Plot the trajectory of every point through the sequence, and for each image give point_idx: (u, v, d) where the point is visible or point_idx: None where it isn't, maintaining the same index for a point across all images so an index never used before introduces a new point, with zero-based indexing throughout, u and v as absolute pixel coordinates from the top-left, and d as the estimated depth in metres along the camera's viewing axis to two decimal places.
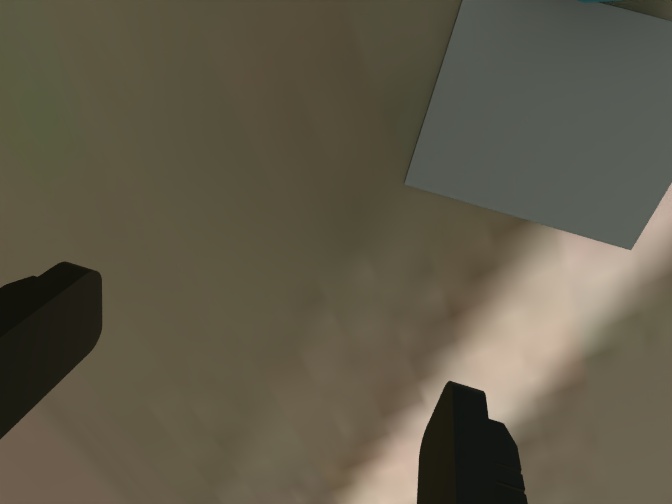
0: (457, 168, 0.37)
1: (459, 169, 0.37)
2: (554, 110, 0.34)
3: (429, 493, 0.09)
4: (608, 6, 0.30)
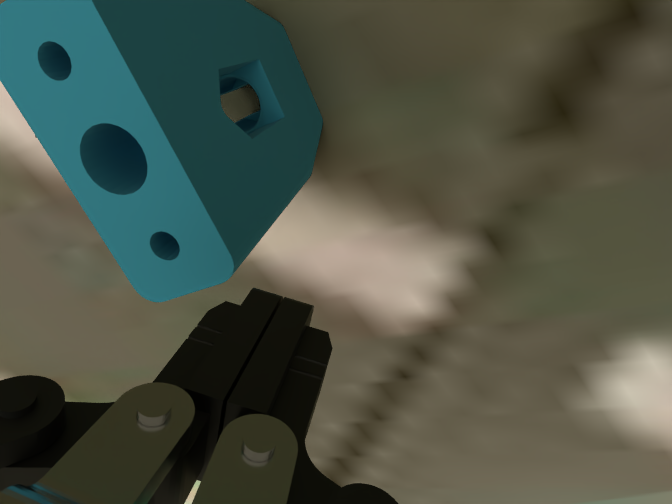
0: None
1: None
2: None
3: None
4: None
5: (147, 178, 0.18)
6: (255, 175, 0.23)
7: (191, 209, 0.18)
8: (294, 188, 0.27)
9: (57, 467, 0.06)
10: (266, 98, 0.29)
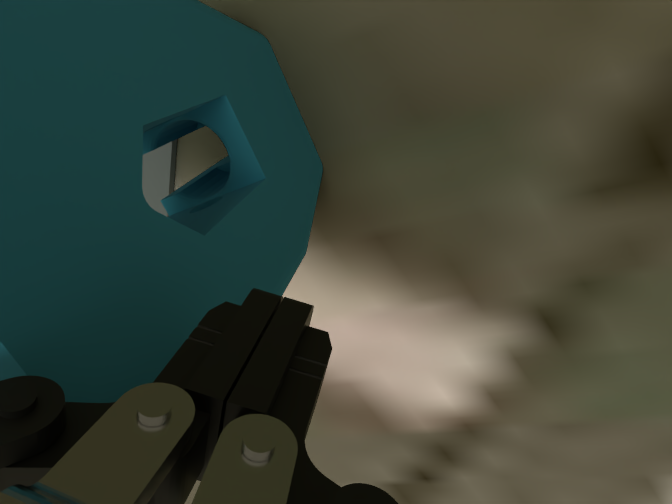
0: None
1: None
2: None
3: None
4: None
5: None
6: (207, 303, 0.14)
7: None
8: (278, 293, 0.18)
9: (57, 466, 0.06)
10: (238, 151, 0.19)
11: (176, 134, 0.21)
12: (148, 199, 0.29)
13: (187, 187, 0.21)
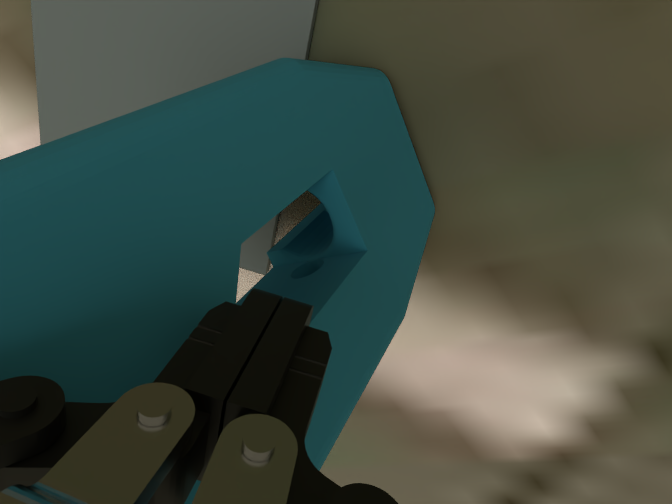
0: None
1: None
2: (172, 90, 0.26)
3: None
4: None
5: None
6: None
7: None
8: (367, 378, 0.18)
9: (57, 467, 0.06)
10: (341, 222, 0.19)
11: None
12: None
13: (292, 240, 0.22)
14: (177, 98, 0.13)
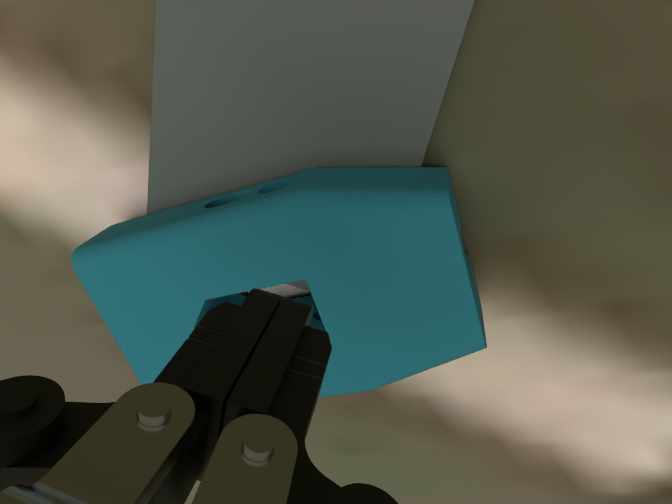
0: None
1: (201, 0, 0.24)
2: (296, 126, 0.25)
3: None
4: None
5: None
6: None
7: None
8: None
9: (56, 466, 0.06)
10: None
11: None
12: None
13: None
14: (191, 220, 0.24)
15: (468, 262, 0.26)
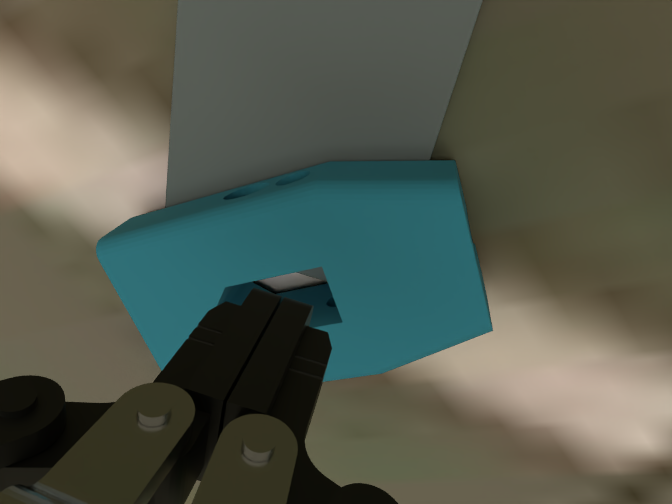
0: None
1: (221, 2, 0.25)
2: (311, 122, 0.27)
3: None
4: None
5: None
6: None
7: None
8: None
9: (56, 466, 0.06)
10: None
11: None
12: None
13: None
14: (213, 211, 0.25)
15: (474, 251, 0.27)
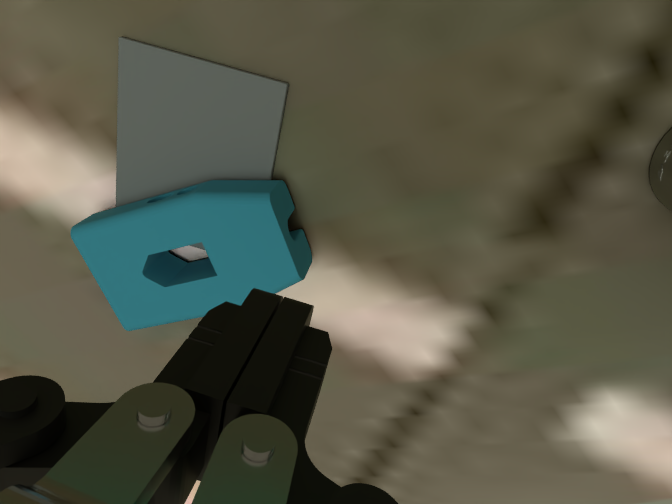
0: (143, 86, 0.43)
1: (143, 88, 0.43)
2: (200, 156, 0.45)
3: None
4: None
5: None
6: (158, 303, 0.47)
7: None
8: (202, 313, 0.46)
9: (56, 466, 0.06)
10: None
11: None
12: None
13: None
14: (138, 210, 0.43)
15: (299, 234, 0.45)
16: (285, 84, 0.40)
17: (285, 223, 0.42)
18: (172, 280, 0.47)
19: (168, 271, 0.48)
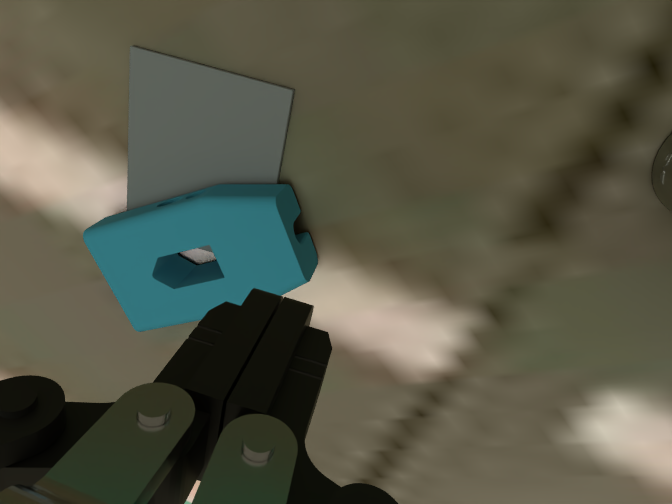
0: (153, 93, 0.44)
1: (153, 95, 0.44)
2: (208, 161, 0.46)
3: None
4: None
5: None
6: (168, 304, 0.48)
7: None
8: None
9: (56, 466, 0.06)
10: None
11: None
12: None
13: None
14: (148, 213, 0.44)
15: (305, 236, 0.46)
16: (291, 90, 0.41)
17: (291, 226, 0.43)
18: (181, 282, 0.48)
19: (177, 273, 0.49)
